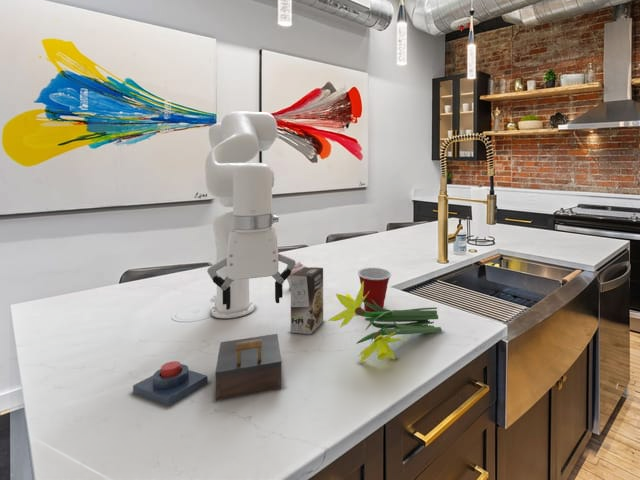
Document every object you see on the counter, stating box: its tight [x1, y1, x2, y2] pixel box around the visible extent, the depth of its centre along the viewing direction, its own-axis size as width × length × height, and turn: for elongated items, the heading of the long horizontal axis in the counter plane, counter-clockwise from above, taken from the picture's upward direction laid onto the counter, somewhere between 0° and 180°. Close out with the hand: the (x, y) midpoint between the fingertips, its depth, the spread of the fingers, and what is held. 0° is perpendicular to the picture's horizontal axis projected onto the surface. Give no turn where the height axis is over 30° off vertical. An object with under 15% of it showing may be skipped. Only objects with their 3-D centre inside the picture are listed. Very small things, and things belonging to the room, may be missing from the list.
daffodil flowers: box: [327, 281, 442, 364], centre depth 102 cm, size 17×15×35 cm
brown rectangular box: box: [215, 366, 282, 402], centre depth 89 cm, size 14×13×5 cm
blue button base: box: [132, 363, 209, 407], centre depth 85 cm, size 11×9×4 cm
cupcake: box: [286, 261, 307, 291], centre depth 150 cm, size 9×9×10 cm
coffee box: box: [290, 266, 324, 335], centre depth 116 cm, size 9×6×16 cm
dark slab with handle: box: [214, 333, 282, 379], centre depth 89 cm, size 14×13×6 cm
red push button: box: [160, 360, 182, 378], centre depth 85 cm, size 4×4×2 cm
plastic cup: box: [357, 267, 392, 312], centre depth 130 cm, size 11×11×12 cm
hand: (253, 304), depth 85 cm, fingers open, 9 cm apart
